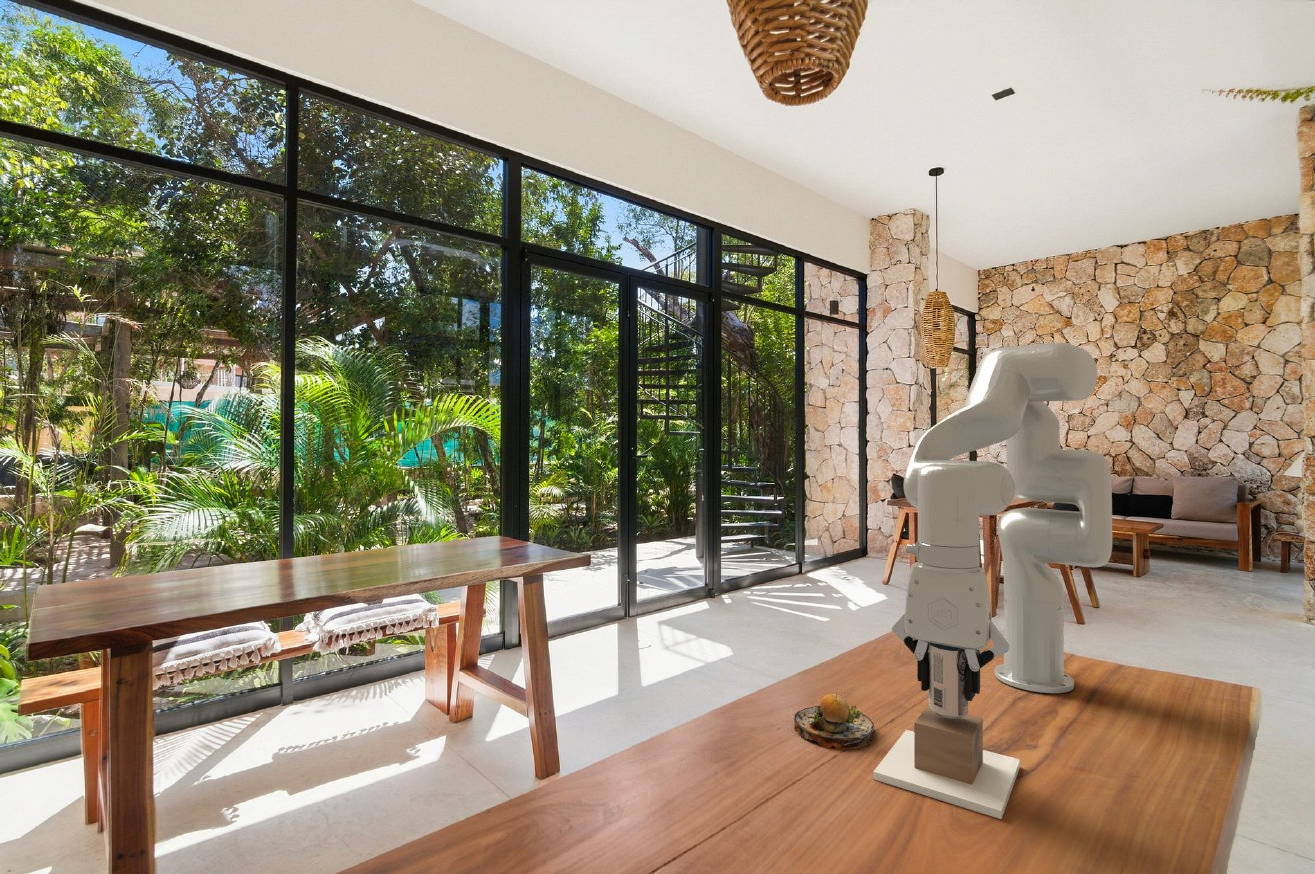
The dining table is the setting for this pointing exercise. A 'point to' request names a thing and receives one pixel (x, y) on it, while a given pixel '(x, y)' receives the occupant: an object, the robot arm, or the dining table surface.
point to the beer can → (947, 681)
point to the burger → (834, 724)
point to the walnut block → (949, 745)
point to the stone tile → (980, 796)
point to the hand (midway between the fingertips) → (948, 691)
